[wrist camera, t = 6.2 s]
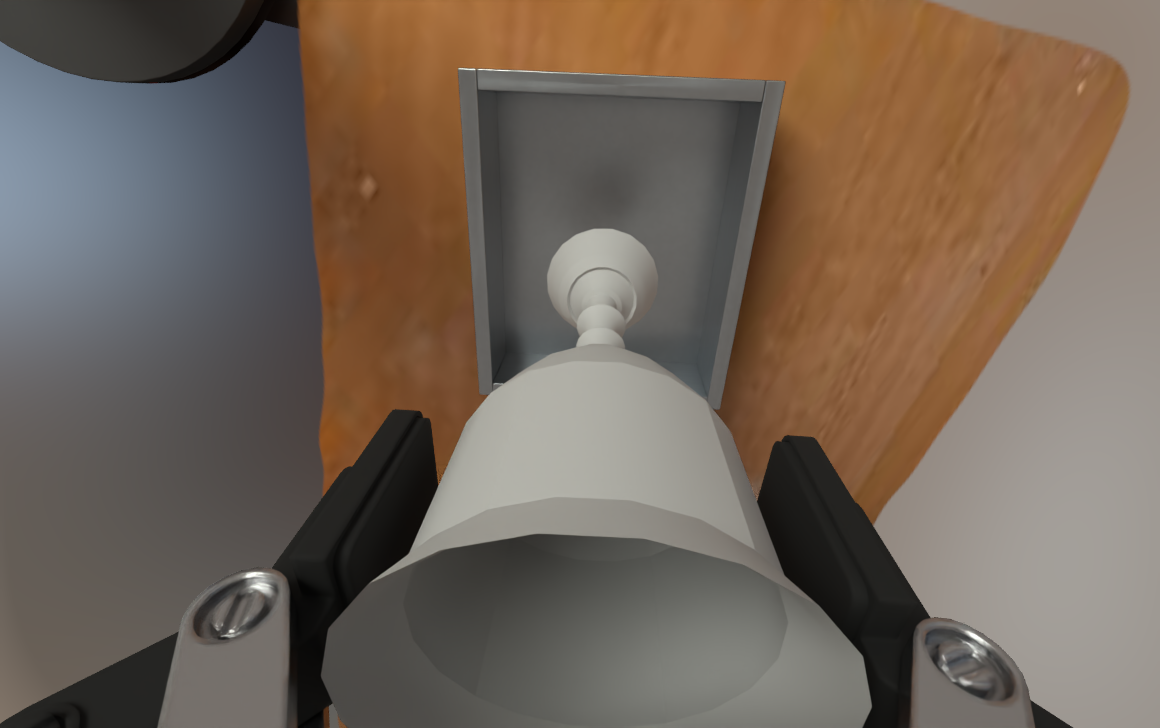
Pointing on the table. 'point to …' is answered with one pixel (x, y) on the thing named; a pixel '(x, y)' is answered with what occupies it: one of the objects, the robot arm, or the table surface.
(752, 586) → the chalice
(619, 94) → the grey rectangular tray
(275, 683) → the robot arm
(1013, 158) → the table surface
